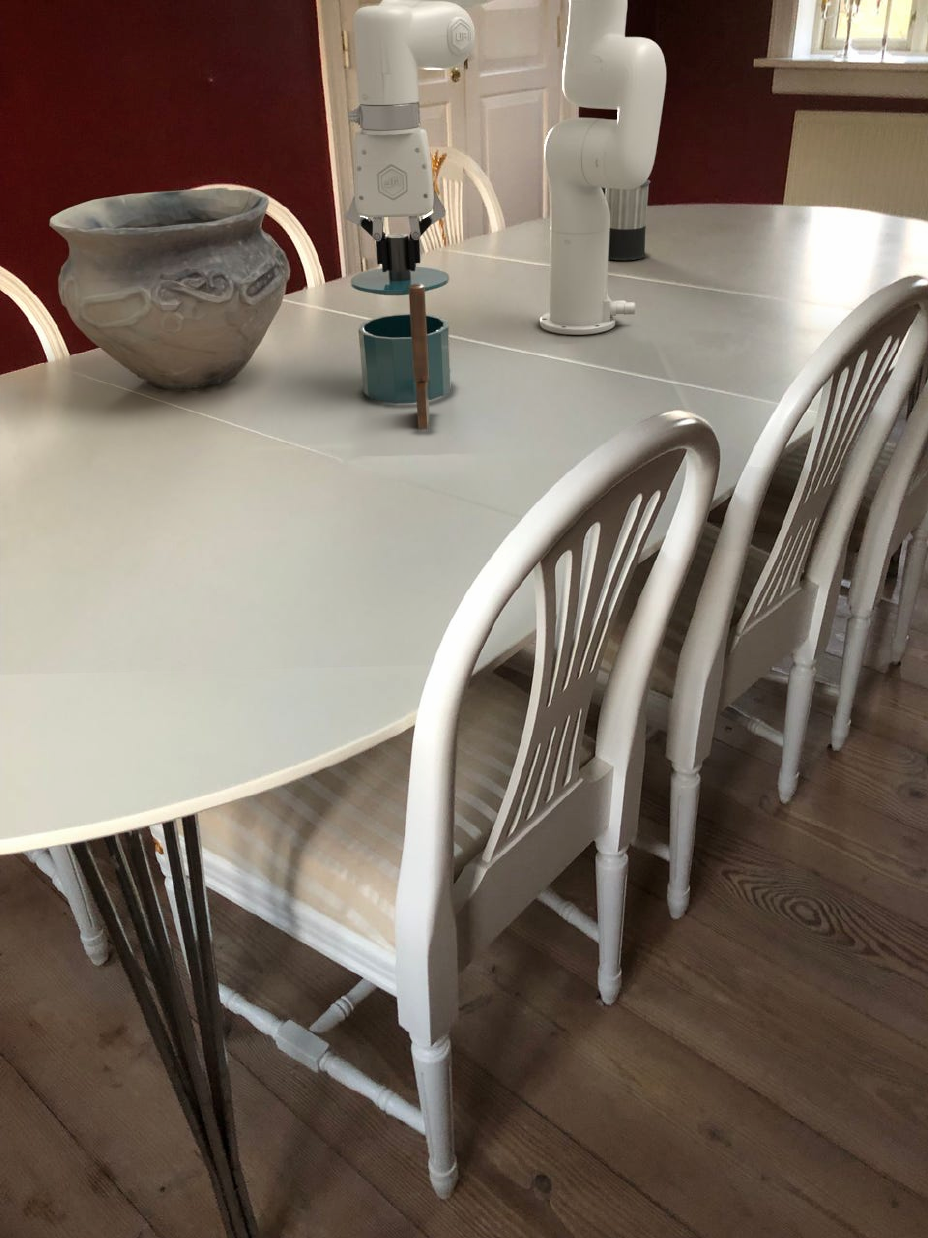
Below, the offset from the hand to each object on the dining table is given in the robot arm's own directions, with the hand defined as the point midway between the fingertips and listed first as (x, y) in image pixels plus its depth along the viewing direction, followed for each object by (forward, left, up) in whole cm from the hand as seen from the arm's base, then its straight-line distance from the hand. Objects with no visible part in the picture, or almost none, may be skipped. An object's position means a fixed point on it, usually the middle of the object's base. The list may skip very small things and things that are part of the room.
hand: (399, 267), depth 140 cm
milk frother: (-37, -79, -18) cm, 89 cm away
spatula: (-3, +13, -17) cm, 22 cm away
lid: (0, 0, -2) cm, 2 cm away
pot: (0, 0, -17) cm, 17 cm away
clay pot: (+33, -9, -18) cm, 38 cm away
